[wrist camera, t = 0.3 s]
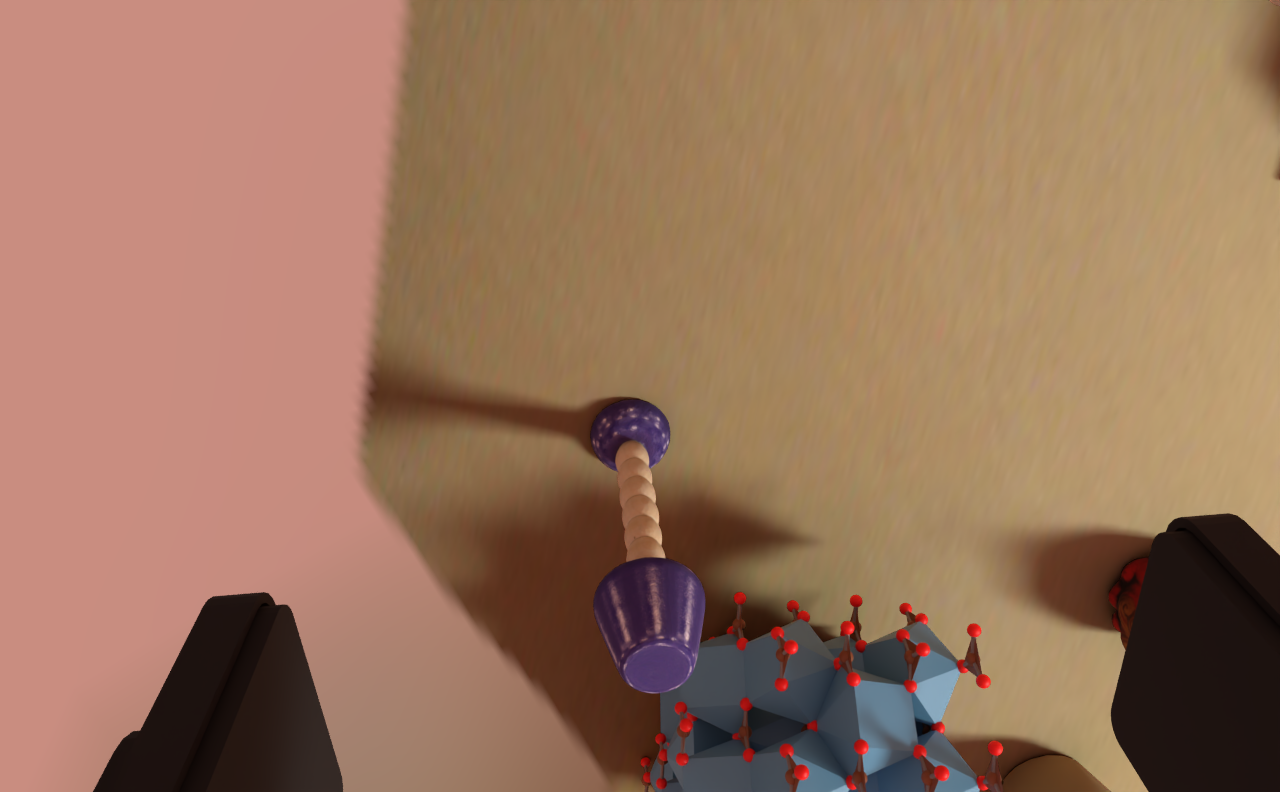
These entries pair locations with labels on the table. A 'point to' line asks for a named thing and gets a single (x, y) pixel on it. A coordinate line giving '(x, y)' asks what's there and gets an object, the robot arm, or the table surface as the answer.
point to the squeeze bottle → (1051, 776)
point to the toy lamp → (644, 561)
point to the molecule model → (817, 713)
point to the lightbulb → (1275, 2)
